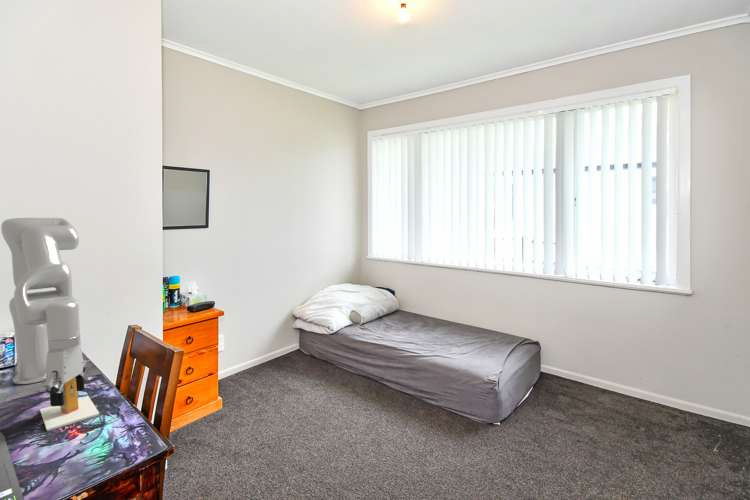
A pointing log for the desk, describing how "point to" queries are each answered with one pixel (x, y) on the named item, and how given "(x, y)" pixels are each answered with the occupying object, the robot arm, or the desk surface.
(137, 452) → the desk surface
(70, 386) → the supplement box
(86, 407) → the mat
